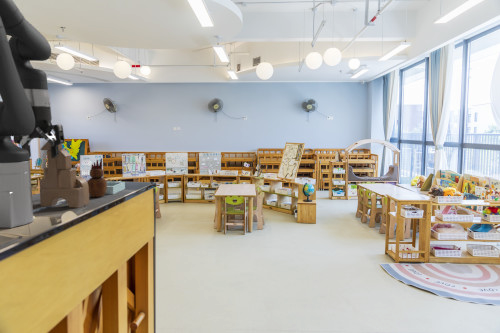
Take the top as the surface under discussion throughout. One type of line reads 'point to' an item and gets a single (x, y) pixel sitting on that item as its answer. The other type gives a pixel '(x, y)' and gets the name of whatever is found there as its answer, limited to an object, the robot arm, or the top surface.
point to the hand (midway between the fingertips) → (41, 157)
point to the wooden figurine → (97, 181)
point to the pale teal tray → (114, 187)
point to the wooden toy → (62, 181)
